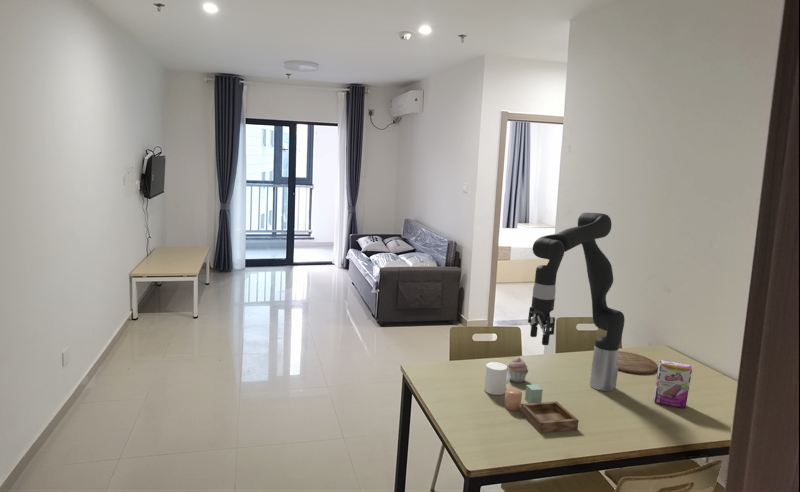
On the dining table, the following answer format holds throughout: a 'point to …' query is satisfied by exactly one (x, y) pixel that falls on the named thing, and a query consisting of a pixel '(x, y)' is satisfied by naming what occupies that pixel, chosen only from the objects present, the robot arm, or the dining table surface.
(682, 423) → the dining table surface
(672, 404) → the candy bar box
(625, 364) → the trivet
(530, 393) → the sage block
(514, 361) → the cupcake
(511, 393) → the peach capsule shape
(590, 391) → the dining table surface
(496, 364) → the mug
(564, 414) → the tray
